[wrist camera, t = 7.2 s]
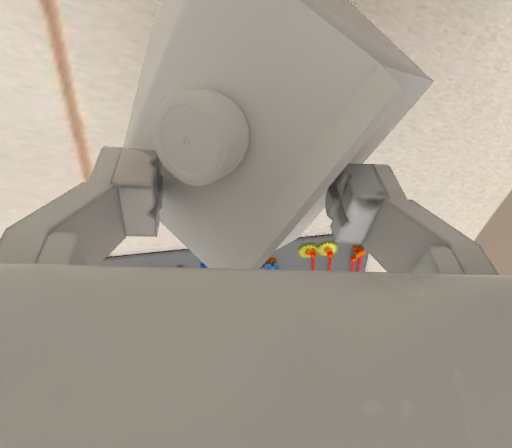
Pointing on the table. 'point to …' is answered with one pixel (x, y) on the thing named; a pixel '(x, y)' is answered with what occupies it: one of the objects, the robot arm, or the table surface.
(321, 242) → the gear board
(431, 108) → the table surface
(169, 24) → the milk carton
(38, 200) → the table surface
